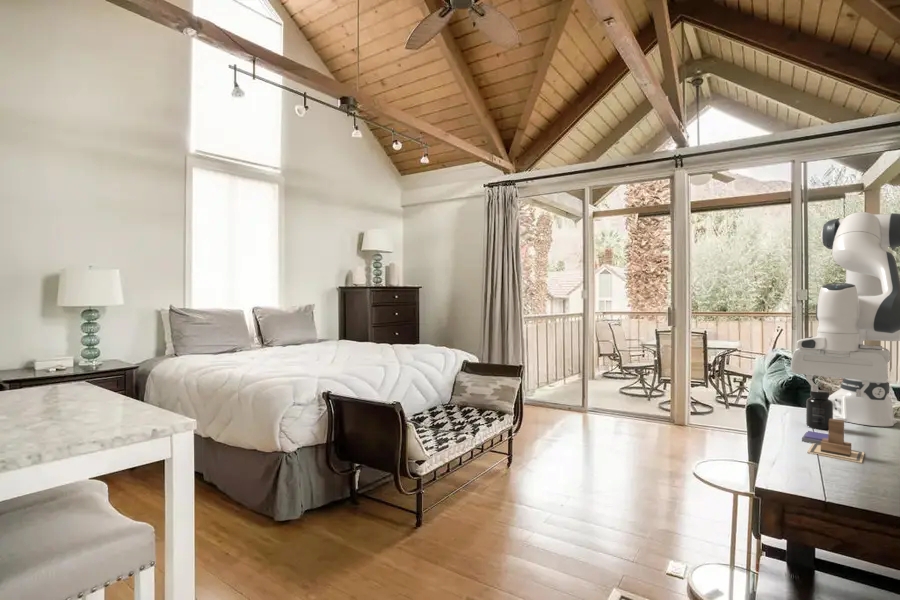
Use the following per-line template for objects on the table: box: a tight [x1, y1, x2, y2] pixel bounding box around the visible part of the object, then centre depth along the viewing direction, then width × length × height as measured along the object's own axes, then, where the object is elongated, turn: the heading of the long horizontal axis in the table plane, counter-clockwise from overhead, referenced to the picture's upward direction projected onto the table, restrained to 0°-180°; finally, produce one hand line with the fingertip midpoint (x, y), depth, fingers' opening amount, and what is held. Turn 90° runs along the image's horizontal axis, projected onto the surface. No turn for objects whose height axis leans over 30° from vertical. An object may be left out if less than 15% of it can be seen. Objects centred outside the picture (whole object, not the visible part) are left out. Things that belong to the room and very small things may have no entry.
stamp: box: [821, 418, 852, 457], centre depth 125 cm, size 5×6×9 cm
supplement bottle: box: [805, 389, 833, 431], centre depth 151 cm, size 7×7×12 cm
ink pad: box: [801, 430, 828, 444], centre depth 136 cm, size 9×8×2 cm
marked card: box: [807, 443, 865, 464], centre depth 125 cm, size 11×11×1 cm
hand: (836, 394), depth 126 cm, fingers open, 8 cm apart
